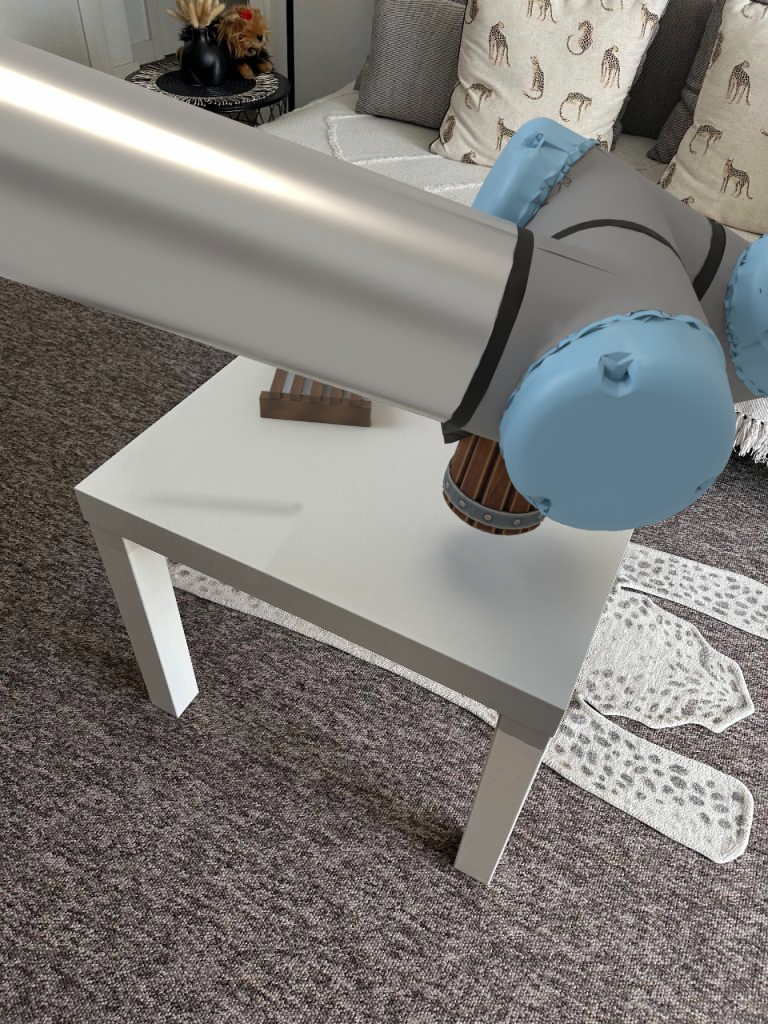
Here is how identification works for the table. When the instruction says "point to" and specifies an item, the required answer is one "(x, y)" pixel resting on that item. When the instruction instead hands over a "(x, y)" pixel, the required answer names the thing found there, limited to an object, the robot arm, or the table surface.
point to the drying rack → (312, 403)
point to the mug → (486, 490)
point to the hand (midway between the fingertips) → (495, 423)
